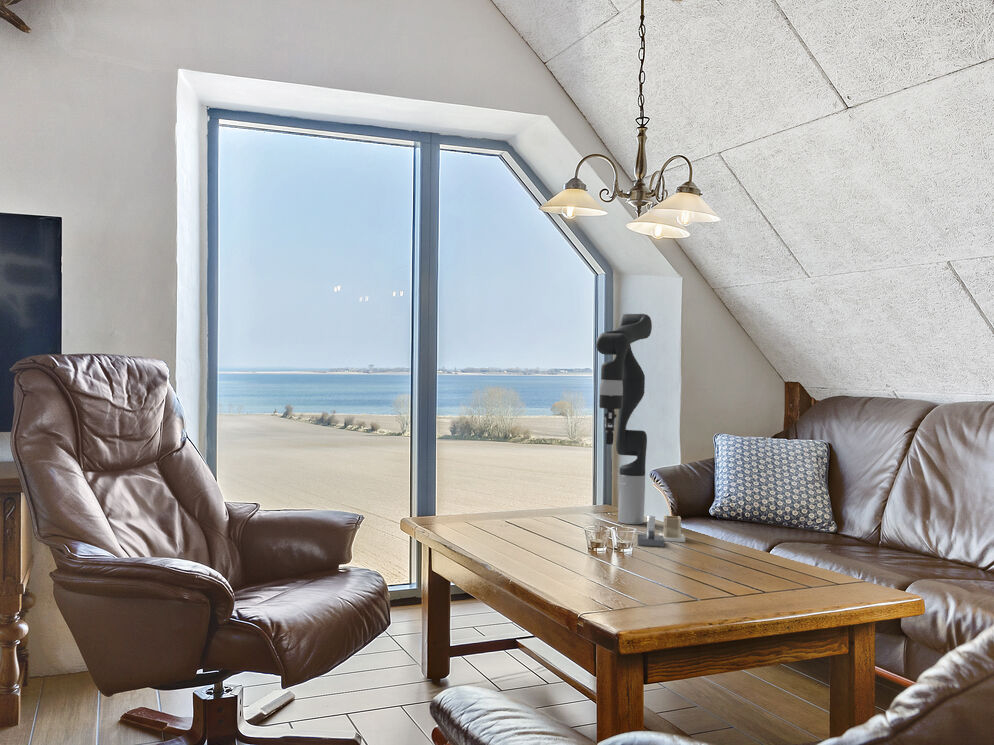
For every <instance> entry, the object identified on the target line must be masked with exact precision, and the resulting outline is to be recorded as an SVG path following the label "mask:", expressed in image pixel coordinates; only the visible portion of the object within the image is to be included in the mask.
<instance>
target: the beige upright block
mask: <svg viewBox="0 0 994 745" xmlns="http://www.w3.org/2000/svg"><path fill="white" fill-rule="evenodd" d="M681 529H682V518H681V516H679V515H678V516H677V515H663V530H662V533H663V534H664V537H676V538H681V534H682V532H681V531H682V530H681Z"/></svg>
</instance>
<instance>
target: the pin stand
mask: <svg viewBox="0 0 994 745" xmlns="http://www.w3.org/2000/svg"><path fill="white" fill-rule="evenodd" d="M646 519H647V522H646V534H644V533H643V534H641V533H638V534H637V546H643V547H655V548H656V547H657V548H658V547H659V548H660V547H661V548H664V547H665V541H664V537H663V536H660V535H659V534H658V535H657V534H656V533H655V532H656V531H655V530H656V516H654V515H647V516H646Z"/></svg>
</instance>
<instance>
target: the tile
mask: <svg viewBox="0 0 994 745" xmlns="http://www.w3.org/2000/svg"><path fill="white" fill-rule="evenodd" d="M658 535H660V536H663V537H664V534H663V532H659V533H658ZM664 542H678V543H686V537H685V534H683V533H681V538H676V537H664Z"/></svg>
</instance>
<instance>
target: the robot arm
mask: <svg viewBox="0 0 994 745" xmlns="http://www.w3.org/2000/svg"><path fill="white" fill-rule="evenodd" d="M652 323H653V322H652V319H651V316H649V315H648V314H646V313H626V314H625V313H624V314H622V315H621V317H620V321H619V326H618V327H617V328H615V329H614V330H609V331H605V332H601V333H600V334H599V335H598V336H597V338H596V341H595V342H596V343H595V346H596V350H597V351H598V352H599V353H600V354H602V355H605V356H607V355H608V356H609V355H613V356H615V357H614V359H613V360H610V361H605V362H603V363H602V364H601V367H600V383H599V400H598V402H599V408H600V409H606V413H604V416H603V417H604V427H605V432H606V434H605V436H606V437H605V439H606V440H605V444H606V445H613V444H614V434H615V433H614V432H615V428H616V427H617V428H616V437H615V438H616V439H615V440H616V441H615V442H616V443H615V449H616V453H617V454H618V455H620V456H633V457H636V459H635V460H634V461H632V462H630V463H626V464H622V465H621V466H619V474H618V475H619V477H618V479H619V480H618V481H619V482H618V512H617V516H618V518H617V523H621V524H626V525H642V524H645V503H646V501H645V500H646V492H645V491H646V460H647V447H648V435H647V433H646V431H645V430H640V429H639V430H637V429H636V430H635V429H627V426H628V422H629V420H630V417H631V415H632V414H633V412H634V411H635V409H636V408H637V407H638V406H639V404H640V402H641V401H642V400H643V397H644V396H645V388H646V386H645V385H646V384H645V382H646V377H645V373H644V371H643V368H642V367H641V365H640V363H639V362H638V360H637V359H636V357H635V354H634V353H633V350H632V347H631V344H632V343H634V342H637V341H640V340H644V339H648V338H649V337H650V336H651V333H652V328H653V326H652V325H653V324H652ZM615 410H618V416H617V414H616V412H615ZM616 422H617V424H616ZM616 425H617V426H616Z"/></svg>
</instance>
